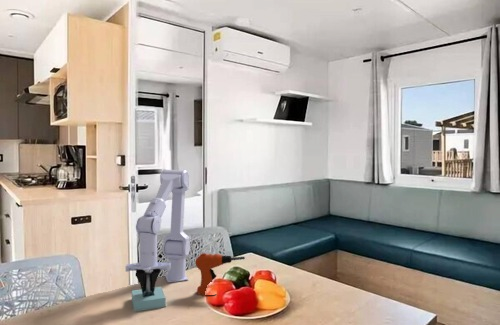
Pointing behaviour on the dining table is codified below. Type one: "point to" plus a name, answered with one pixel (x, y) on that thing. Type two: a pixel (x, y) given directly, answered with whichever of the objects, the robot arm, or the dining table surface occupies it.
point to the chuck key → (148, 284)
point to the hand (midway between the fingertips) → (148, 291)
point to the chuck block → (148, 299)
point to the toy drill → (210, 268)
